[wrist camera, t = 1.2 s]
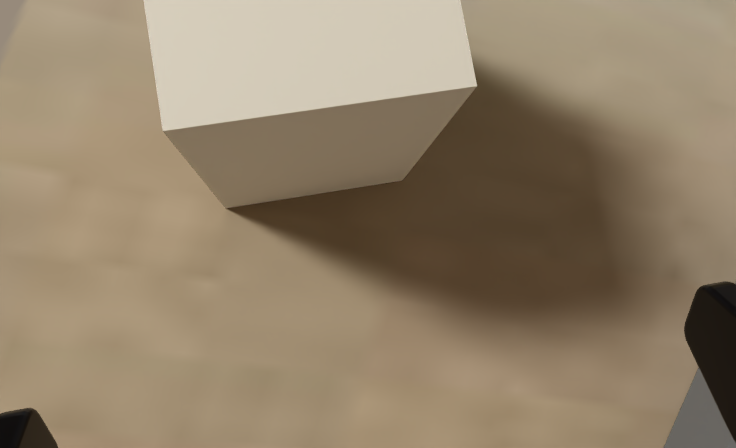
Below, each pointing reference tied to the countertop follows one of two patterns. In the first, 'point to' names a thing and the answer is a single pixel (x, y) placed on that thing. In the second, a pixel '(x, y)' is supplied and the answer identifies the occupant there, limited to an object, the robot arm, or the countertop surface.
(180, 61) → the cream carton
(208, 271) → the countertop surface
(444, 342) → the countertop surface
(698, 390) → the price rail
